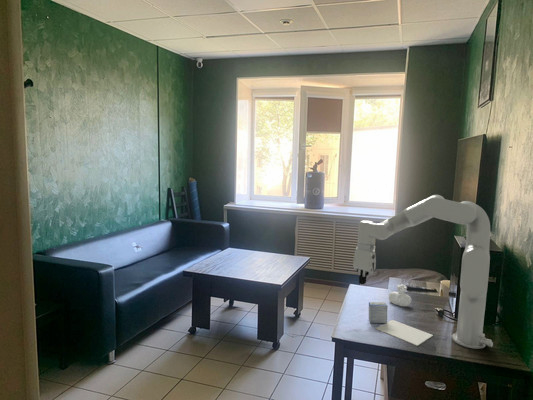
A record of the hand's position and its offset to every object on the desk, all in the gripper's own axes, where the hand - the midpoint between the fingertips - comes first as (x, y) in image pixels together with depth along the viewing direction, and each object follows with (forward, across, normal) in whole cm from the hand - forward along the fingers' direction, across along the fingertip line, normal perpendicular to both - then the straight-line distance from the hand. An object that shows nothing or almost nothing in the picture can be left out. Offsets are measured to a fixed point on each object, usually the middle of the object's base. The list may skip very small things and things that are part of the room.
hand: (362, 283), depth 182 cm
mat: (+16, -23, 0) cm, 28 cm away
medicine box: (+16, -10, 0) cm, 19 cm away
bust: (+16, -5, -29) cm, 34 cm away
